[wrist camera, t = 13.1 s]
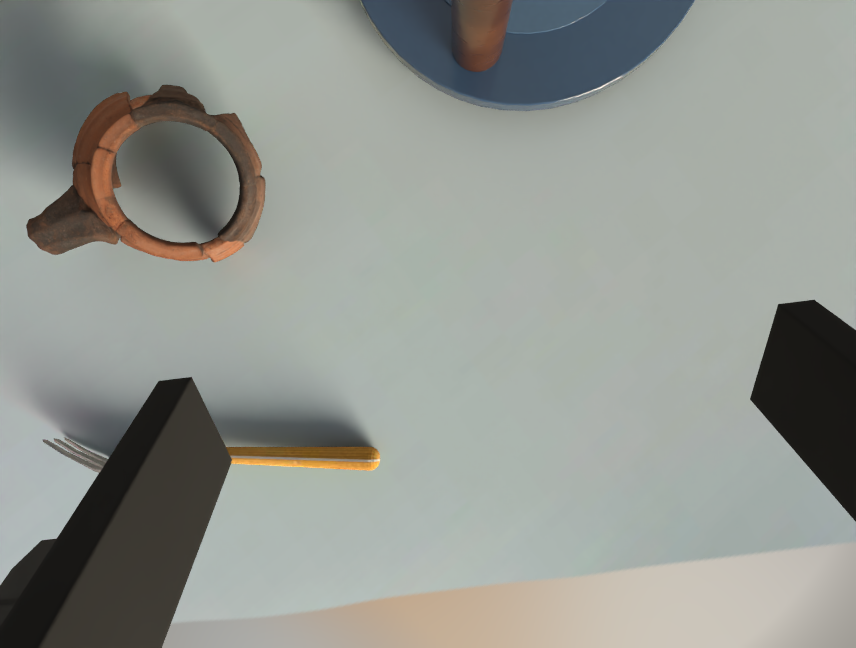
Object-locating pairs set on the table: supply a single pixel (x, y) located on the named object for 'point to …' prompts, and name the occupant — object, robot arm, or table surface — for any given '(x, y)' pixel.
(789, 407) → the robot arm
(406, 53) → the blue disc with rod
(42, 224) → the broken brown clay pot
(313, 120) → the table surface
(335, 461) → the fork
